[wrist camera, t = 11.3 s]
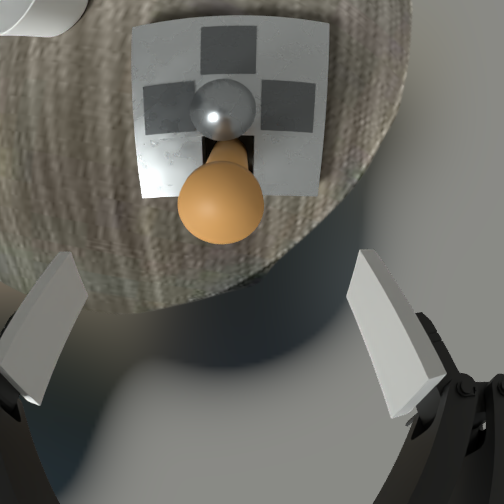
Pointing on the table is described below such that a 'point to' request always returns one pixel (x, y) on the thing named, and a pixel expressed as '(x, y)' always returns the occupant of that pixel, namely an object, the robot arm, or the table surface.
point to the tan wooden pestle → (222, 196)
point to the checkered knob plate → (230, 98)
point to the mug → (39, 16)
